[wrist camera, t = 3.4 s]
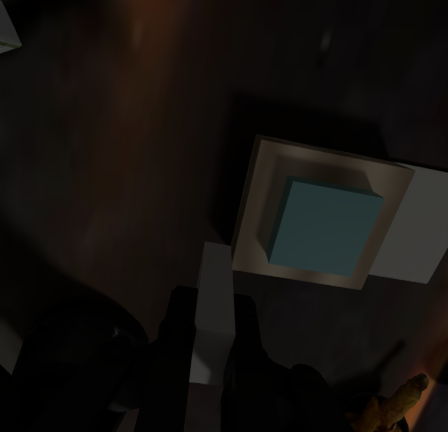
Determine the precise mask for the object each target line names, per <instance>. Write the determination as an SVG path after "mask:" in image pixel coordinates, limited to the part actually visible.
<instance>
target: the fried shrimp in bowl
mask: <svg viewBox="0 0 448 432" xmlns="http://www.w3.org/2000/svg"><path fill="white" fill-rule="evenodd" d="M428 384H429V380H428V379H427V377H426V375H425V374H424V373H420V374H418V375H417V376H414V377H413V378H412V379H408V380H407V382H406V384H404V385H401V386H400V387H399V389H398V390H397V391H396V392H395V394H394V395H392V397H391V398H388V399H387V398H385V397H383V396H381V395H379V394H375V393H370V392H360V393H357V394H355V395H354V396H353V397H351V399H350V401H349V402H348V404H347V406H340V407H341V409H342V410H343V412H344V414H345V416H346V417H347V419H348V421H349V422H350V424H351V426H352V427H353V429H354V431H355V432H409V427H408V424H407V421H406V419H405V417H404V415H405V413H406V412H407V411H408V410H409V409H410V408H412V407H413V406H414V405H415V404H416V403H417V401H419V400H420V398H421V395H422V392H423V391H424V390H425V389H427V386H428Z"/></svg>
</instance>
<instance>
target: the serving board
mask: <svg viewBox="0 0 448 432" xmlns="http://www.w3.org/2000/svg"><path fill="white" fill-rule="evenodd" d="M415 171H416V170H413V169H411V168H408V167H405V166H402V165H400V164H397V163H394V162H392V161H388V160H383V159H378V158H373V157H368V156H363V155H358V154H353V153H348V152H343V151H338V150H333V149H328V148H323V147H318V146H313V145H308V144H303V143H298V142H293V141H288V140H283V139H278V138H273V137H268V136H263V135H258V134H256V136H255V141H254V145H253V149H252V154H251V158H250V162H249V167H248V171H247V176H246V180H245V184H244V189H243V193H242V197H241V202H240V206H239V210H238V215H237V219H236V224H235V228H234V232H233V237H232V241H231V245H230V246H231V258H232V270H238V271H244V272H251V273H257V274H263V275H270V276H276V277H282V278H289V279H295V280H301V281H308V282H314V283H320V284H327V285H333V286H339V287H346V288H352V289H358V290H361V289H362V287H363V284H364V282H365V280H366V278H367V276H368V274H369V271H370V269H371V267H372V265H373V263H374V261H375V258H376V256H377V254H378V252H379V250H380V247H381V245H382V243H383V241H384V239H385V237H386V234H387V232H388V230H389V228H390V226H391V224H392V221H393V219H394V217H395V215H396V213H397V211H398V208H399V206H400V204H401V202H402V200H403V198H404V195H405V193H406V191H407V189H408V187H409V184H410V182H411V180H412V178H413V176H414V174H415ZM288 175H291V176H296V177H301V178H306V179H312V180H317V181H322V182H327V183H333V184H338V185H343V186H349V187H354V188H359V189H364V190H370V191H374V192H375V193H377V194H378V195H380V196H382V197H383V198H385V199H384V201H383V204H382V206H381V208H380V211H379V213H378V215H377V218H376V220H375V222H374V224H373V227H372V229H371V231H370V234H369V236H368V238H367V241H366V243H365V245H364V247H363V250H362V252H361V254H360V257H359V259H358V261H357V264H356V266H355V268H354V271H353V273H352V275H351V277H347V276H341V275H335V274H329V273H322V272H316V271H310V270H304V269H298V268H291V267H285V266H279V265H273V264H269V263H268V260H267V256H266V250H267V246H268V243H269V239H270V236H271V232H272V229H273V225H274V222H275V218H276V215H277V211H278V208H279V204H280V201H281V197H282V194H283V190H284V187H285V183H286V180H287V176H288Z"/></svg>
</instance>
